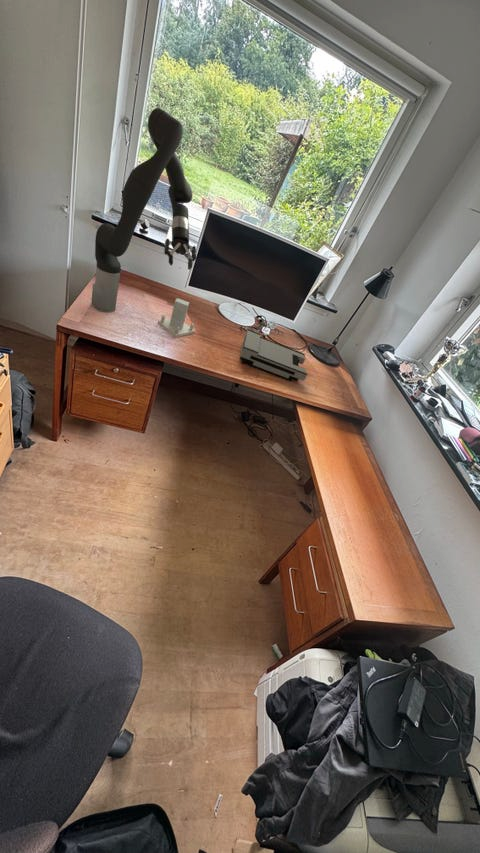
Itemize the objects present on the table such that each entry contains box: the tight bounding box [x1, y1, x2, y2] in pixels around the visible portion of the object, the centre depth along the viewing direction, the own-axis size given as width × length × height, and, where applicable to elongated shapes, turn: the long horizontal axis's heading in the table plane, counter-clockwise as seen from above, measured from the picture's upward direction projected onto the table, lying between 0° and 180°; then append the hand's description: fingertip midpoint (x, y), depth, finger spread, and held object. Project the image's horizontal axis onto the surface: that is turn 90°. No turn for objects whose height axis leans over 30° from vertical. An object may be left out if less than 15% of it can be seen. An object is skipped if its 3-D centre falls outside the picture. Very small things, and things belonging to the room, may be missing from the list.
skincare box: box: [170, 297, 190, 329], centre depth 156 cm, size 6×4×12 cm
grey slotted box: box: [239, 328, 308, 382], centre depth 166 cm, size 21×32×8 cm, turn 84°
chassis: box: [157, 314, 196, 338], centre depth 159 cm, size 12×12×4 cm
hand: (180, 266), depth 153 cm, fingers open, 8 cm apart
